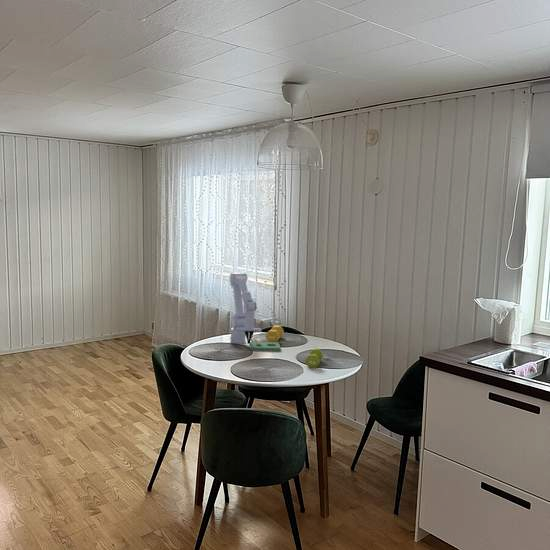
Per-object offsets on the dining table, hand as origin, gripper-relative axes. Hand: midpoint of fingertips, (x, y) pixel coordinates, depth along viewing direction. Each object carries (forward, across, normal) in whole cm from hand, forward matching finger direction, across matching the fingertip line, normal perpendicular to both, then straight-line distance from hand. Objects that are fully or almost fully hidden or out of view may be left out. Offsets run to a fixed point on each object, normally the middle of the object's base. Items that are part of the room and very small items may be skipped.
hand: (248, 343), depth 309 cm
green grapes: (+3, +35, -33) cm, 48 cm away
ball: (-1, +6, 0) cm, 6 cm away
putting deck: (+3, +10, 0) cm, 10 cm away
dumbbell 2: (+3, +18, +21) cm, 28 cm away
